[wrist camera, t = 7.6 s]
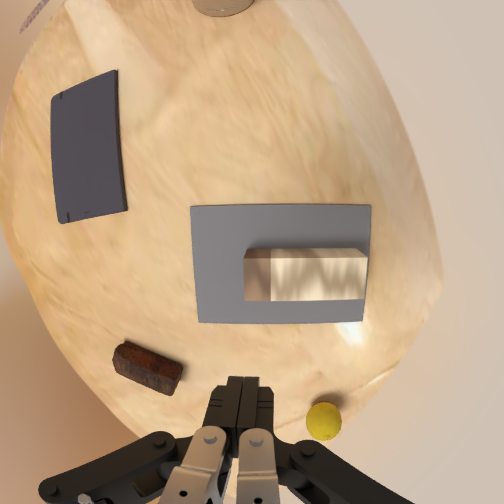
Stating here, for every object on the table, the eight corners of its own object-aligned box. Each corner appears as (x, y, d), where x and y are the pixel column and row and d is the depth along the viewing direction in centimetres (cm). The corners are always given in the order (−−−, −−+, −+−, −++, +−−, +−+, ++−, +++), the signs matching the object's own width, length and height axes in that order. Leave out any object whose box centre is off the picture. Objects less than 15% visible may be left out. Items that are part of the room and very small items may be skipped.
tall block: (243, 258, 32) (367, 257, 31) (246, 248, 37) (355, 248, 36) (244, 300, 33) (363, 298, 32) (248, 286, 38) (353, 284, 37)
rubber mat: (190, 206, 37) (190, 206, 36) (370, 205, 35) (371, 205, 35) (199, 321, 40) (198, 322, 40) (361, 319, 39) (362, 321, 38)
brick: (184, 363, 42) (176, 380, 38) (179, 380, 43) (171, 398, 39) (124, 338, 42) (111, 352, 38) (121, 356, 43) (109, 371, 39)
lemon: (299, 412, 43) (302, 447, 35) (312, 390, 42) (318, 424, 34) (328, 418, 43) (334, 451, 35) (342, 395, 42) (352, 429, 34)
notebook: (129, 210, 38) (119, 72, 33) (124, 211, 36) (114, 69, 32) (64, 223, 39) (56, 98, 34) (58, 224, 37) (50, 97, 33)
